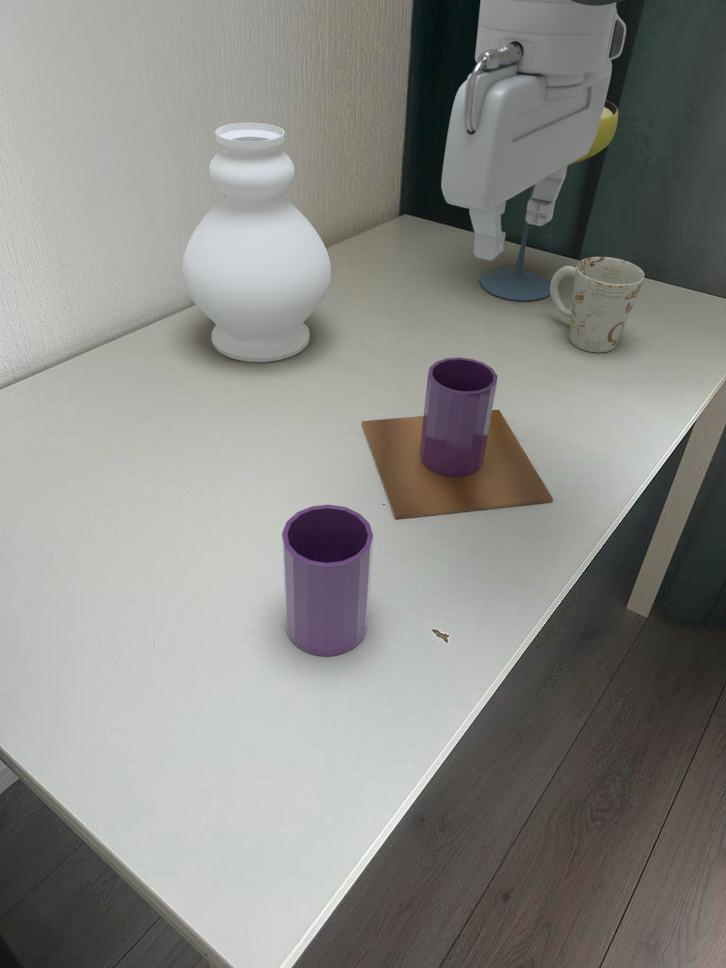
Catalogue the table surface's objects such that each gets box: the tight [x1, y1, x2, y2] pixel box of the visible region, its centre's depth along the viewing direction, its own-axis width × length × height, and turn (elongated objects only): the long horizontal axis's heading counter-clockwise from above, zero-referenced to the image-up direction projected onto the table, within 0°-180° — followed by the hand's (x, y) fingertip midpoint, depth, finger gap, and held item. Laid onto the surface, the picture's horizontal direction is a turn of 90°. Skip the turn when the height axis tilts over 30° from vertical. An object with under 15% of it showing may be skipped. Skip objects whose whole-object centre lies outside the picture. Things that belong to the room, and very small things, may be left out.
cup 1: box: [281, 504, 374, 657], centre depth 60 cm, size 7×7×10 cm
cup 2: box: [420, 356, 498, 477], centre depth 77 cm, size 7×7×10 cm
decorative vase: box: [182, 121, 332, 363], centre depth 92 cm, size 18×18×25 cm
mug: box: [550, 256, 645, 353], centre depth 100 cm, size 8×13×10 cm, turn 41°
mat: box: [361, 409, 554, 520], centre depth 81 cm, size 16×16×1 cm
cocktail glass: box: [479, 99, 619, 302], centre depth 107 cm, size 18×18×25 cm
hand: (514, 238), depth 61 cm, fingers open, 8 cm apart
